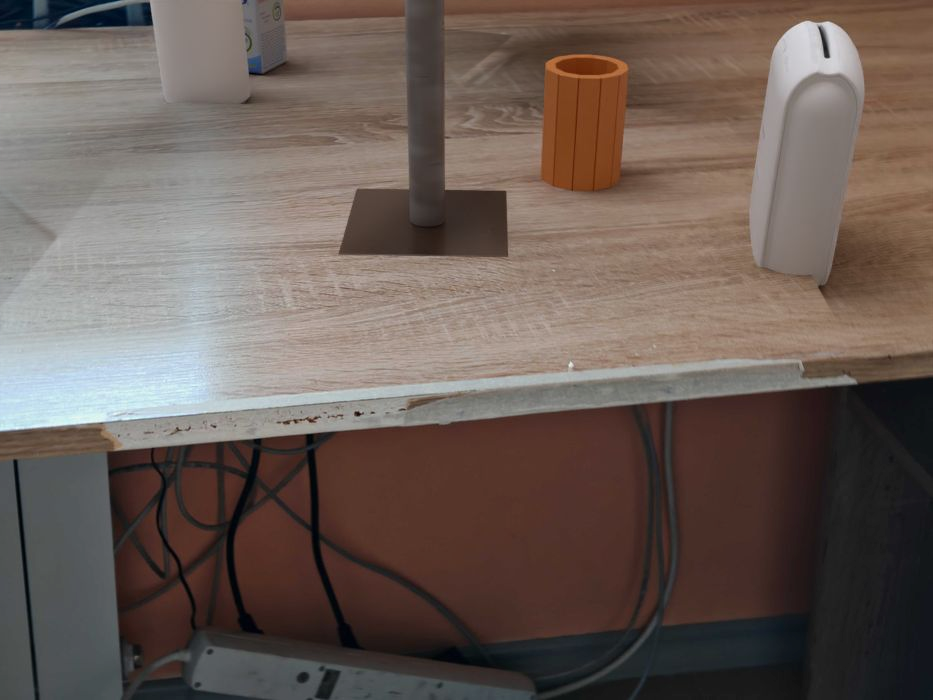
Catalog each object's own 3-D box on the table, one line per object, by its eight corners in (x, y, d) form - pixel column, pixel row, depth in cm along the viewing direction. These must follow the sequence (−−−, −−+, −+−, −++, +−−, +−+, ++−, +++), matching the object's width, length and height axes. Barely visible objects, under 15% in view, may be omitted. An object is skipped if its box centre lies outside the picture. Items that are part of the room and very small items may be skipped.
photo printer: (743, 212, 65) (774, 1, 59) (817, 218, 64) (856, 5, 58) (747, 291, 56) (784, 54, 50) (833, 298, 56) (882, 59, 49)
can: (191, 121, 78) (168, -53, 72) (149, 99, 83) (124, -67, 76) (267, 102, 82) (252, -64, 76) (223, 82, 86) (205, -77, 80)
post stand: (339, 274, 58) (318, -62, 49) (357, 206, 65) (342, -94, 57) (507, 276, 58) (517, -60, 49) (506, 208, 65) (514, -92, 56)
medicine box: (179, 65, 90) (165, -43, 86) (208, 51, 94) (196, -54, 89) (263, 75, 88) (253, -36, 83) (289, 61, 92) (281, -46, 87)
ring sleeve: (541, 208, 65) (547, 77, 61) (539, 178, 69) (544, 53, 65) (621, 209, 65) (632, 78, 61) (613, 178, 69) (623, 54, 65)
